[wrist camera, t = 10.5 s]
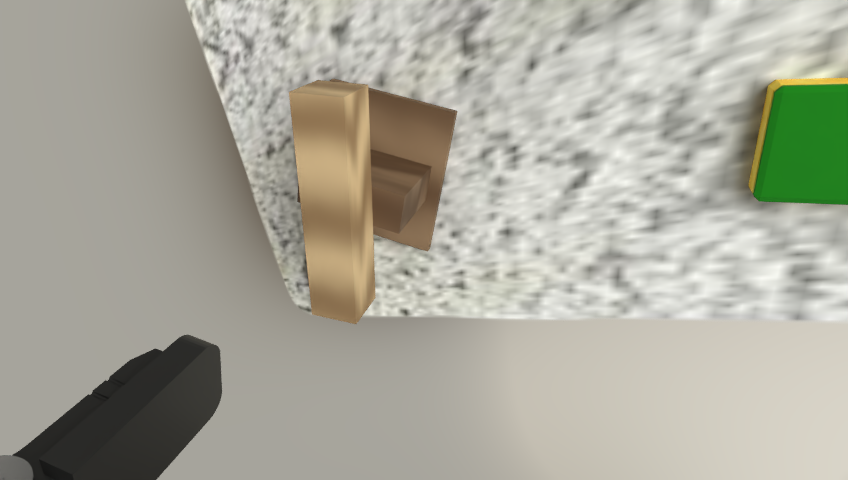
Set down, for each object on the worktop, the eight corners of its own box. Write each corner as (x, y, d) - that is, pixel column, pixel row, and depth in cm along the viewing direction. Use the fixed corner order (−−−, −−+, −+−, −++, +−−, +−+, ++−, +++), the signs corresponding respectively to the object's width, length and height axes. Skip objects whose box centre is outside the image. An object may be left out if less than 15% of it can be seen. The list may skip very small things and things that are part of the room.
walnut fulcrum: (333, 78, 41) (288, 97, 35) (457, 111, 39) (430, 136, 33) (323, 214, 47) (283, 249, 41) (430, 248, 45) (403, 289, 39)
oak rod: (317, 80, 34) (289, 92, 31) (368, 84, 33) (343, 97, 30) (334, 289, 42) (312, 314, 39) (375, 297, 41) (356, 324, 38)
